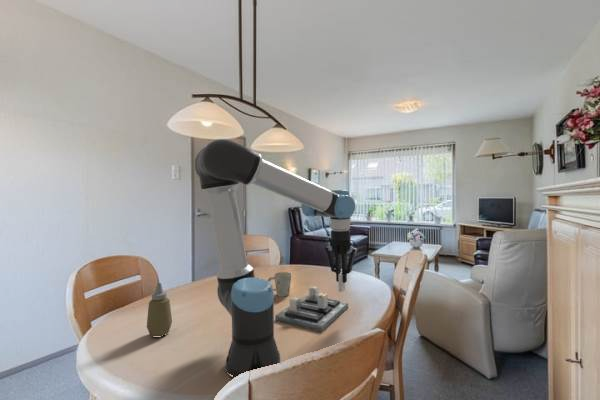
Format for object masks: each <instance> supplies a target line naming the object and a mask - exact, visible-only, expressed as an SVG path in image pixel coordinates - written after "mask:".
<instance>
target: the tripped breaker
mask: <svg viewBox="0 0 600 400" xmlns="http://www.w3.org/2000/svg"><path fill="white" fill-rule="evenodd" d="M318 294H319V295H318V308H322V309H325V308H326V307H328V299H329V298H328V293H324V292H319V293H318Z"/></svg>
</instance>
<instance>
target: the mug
mask: <svg viewBox="0 0 600 400" xmlns="http://www.w3.org/2000/svg"><path fill="white" fill-rule="evenodd" d="M272 280H274V283H275V288H273V292H274V291H276V296H277V297H288V296H289V295H290V291H291V290H290V289H291V281H292V273H291V272H287V271H280V272H276V273H274V275H273V276H270V277H269V278H268V279H267V281H268V282H269V283H271V281H272Z"/></svg>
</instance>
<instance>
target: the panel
mask: <svg viewBox="0 0 600 400" xmlns="http://www.w3.org/2000/svg"><path fill="white" fill-rule="evenodd" d="M308 293H309V295H306V296H304V297H302V298H301V297H297V296H292V297H290V298H289V306H288V307H286V308H285V309H283V310H282V311H280V312H279V313H277V314H275V316H274V318H275V319H274V321H276V322H281V323H285V324H289V325H293V326H297V327H300V328H305V329H307V330H313V331H316V332H317V331H318V332H323V331H325V330H326V329H327V328H328V327H329V326H330V325H331V324H332V323H333V322H335V321H336V319H338V318H339V317H340V316H341V315H342V314H343V313H345V311H346V310H347V309H348V308H349V302H345V301H341V300H337V299H331V298H328V307H326V308H325V309H322V308H318V295H319V294H320V293H319V286H316V285H312V286H309V289H308Z"/></svg>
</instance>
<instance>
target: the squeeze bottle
mask: <svg viewBox="0 0 600 400" xmlns="http://www.w3.org/2000/svg"><path fill="white" fill-rule="evenodd" d="M167 296H168V294H167V292H166V291H164V290H163V285H162V283H161V282H157V283H156V287H155V292H153V293H152V294H151V299H150V301H149V302H148V308H147V309H148V310H147V319H146V329H147V331H148V334H149V336H150V335H151V336H162V335H165V334H167V333H168V332H169V333H170V329H171V327H172V323H173V317H172V309H171V302H170V301H171V300H170V298H169V297H167ZM169 333H168V334H169ZM168 334H167V335H168ZM151 336H150V337H151ZM165 336H166V335H165Z"/></svg>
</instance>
